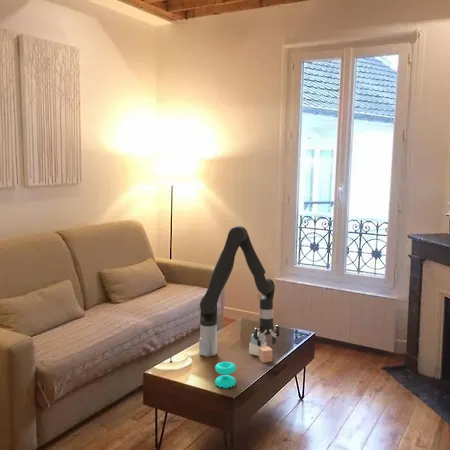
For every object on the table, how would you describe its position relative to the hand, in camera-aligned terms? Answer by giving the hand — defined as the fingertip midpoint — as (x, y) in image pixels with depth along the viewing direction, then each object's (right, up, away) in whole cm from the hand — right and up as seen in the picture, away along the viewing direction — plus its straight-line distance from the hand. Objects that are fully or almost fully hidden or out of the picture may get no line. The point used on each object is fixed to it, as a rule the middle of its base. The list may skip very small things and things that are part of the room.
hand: (266, 345), depth 265 cm
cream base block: (-4, -7, +10) cm, 13 cm away
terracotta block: (0, -8, +1) cm, 8 cm away
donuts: (-22, -12, -29) cm, 38 cm away
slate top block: (-4, -1, +10) cm, 10 cm away
